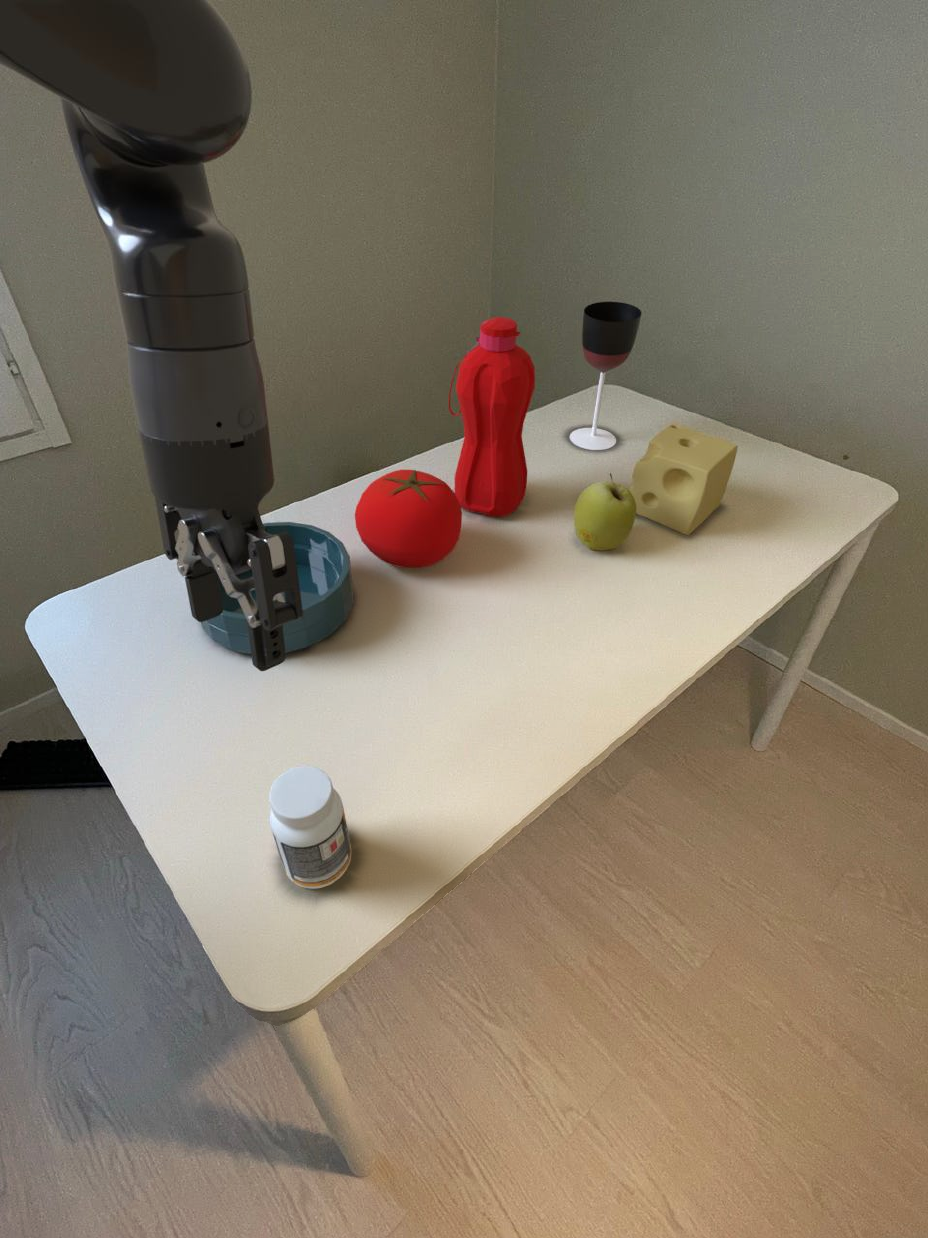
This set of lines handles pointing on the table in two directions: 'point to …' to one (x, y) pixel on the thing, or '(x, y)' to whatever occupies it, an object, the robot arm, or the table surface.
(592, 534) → the apple
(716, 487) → the cheese
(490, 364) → the water bottle
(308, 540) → the bowl
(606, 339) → the wineglass
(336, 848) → the pill bottle
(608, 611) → the table surface
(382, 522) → the tomato
